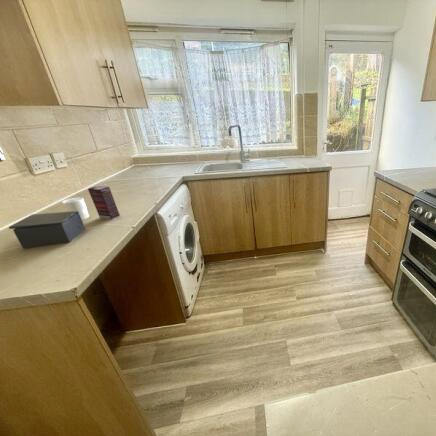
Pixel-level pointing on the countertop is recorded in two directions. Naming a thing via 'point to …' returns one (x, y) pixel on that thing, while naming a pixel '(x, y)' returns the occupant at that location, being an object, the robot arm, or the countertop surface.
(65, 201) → the white cup
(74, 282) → the countertop surface
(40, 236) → the box
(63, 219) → the lid
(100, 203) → the supplement box
